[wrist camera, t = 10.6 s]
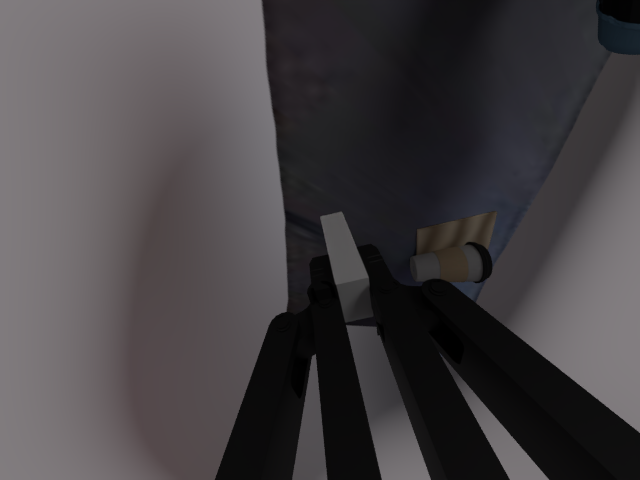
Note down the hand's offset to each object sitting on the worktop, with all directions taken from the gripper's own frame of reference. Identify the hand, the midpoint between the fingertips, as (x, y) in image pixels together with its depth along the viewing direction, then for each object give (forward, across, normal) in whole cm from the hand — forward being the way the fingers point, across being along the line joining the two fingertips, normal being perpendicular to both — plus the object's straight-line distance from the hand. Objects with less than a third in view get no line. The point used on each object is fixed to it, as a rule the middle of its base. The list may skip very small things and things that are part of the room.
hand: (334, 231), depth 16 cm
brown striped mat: (+29, +29, -31) cm, 52 cm away
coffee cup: (+26, +17, -31) cm, 44 cm away
